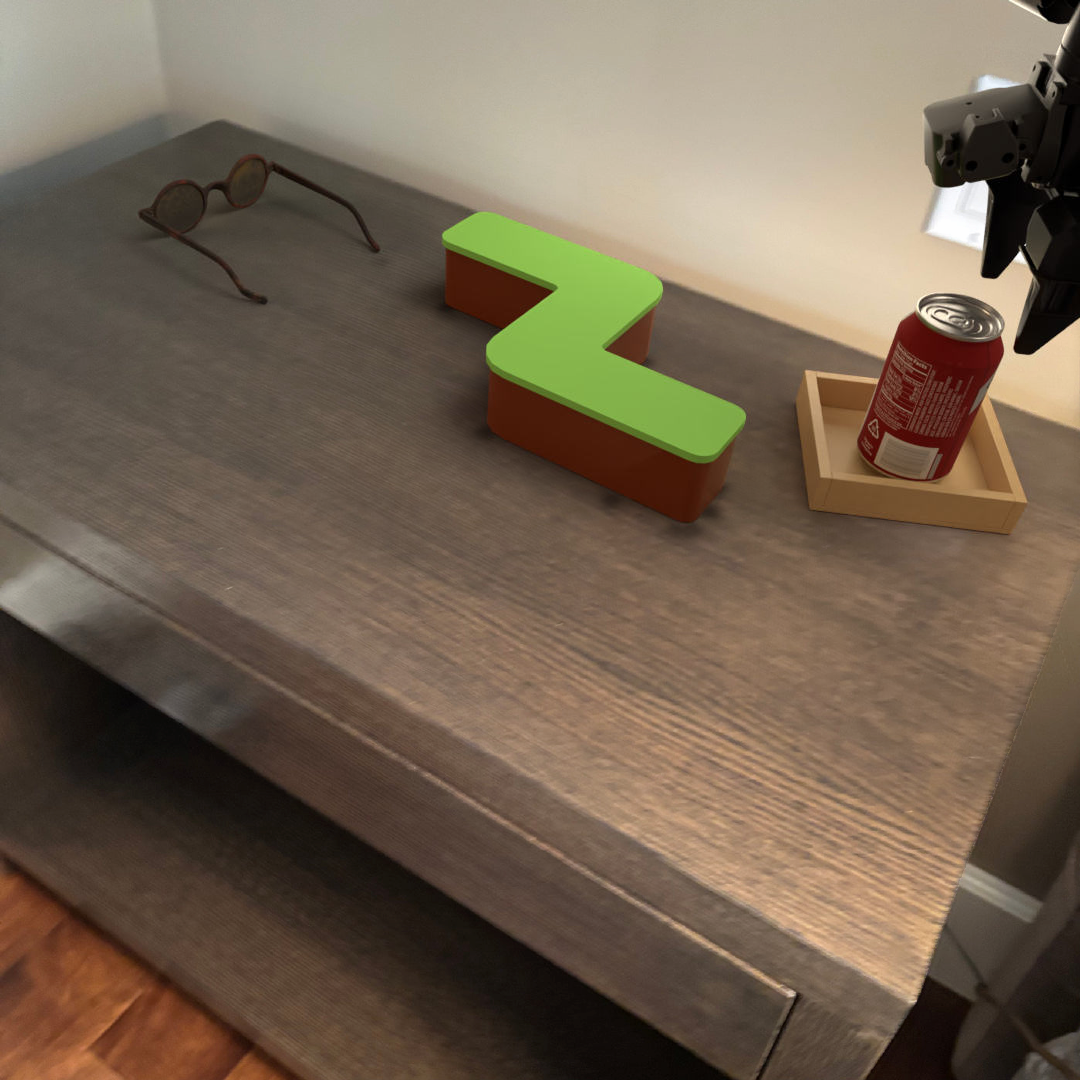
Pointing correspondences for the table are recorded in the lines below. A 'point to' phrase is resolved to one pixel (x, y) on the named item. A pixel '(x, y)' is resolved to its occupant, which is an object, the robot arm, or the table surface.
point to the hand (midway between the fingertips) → (1004, 313)
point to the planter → (586, 366)
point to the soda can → (931, 387)
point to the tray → (857, 489)
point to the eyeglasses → (242, 187)
